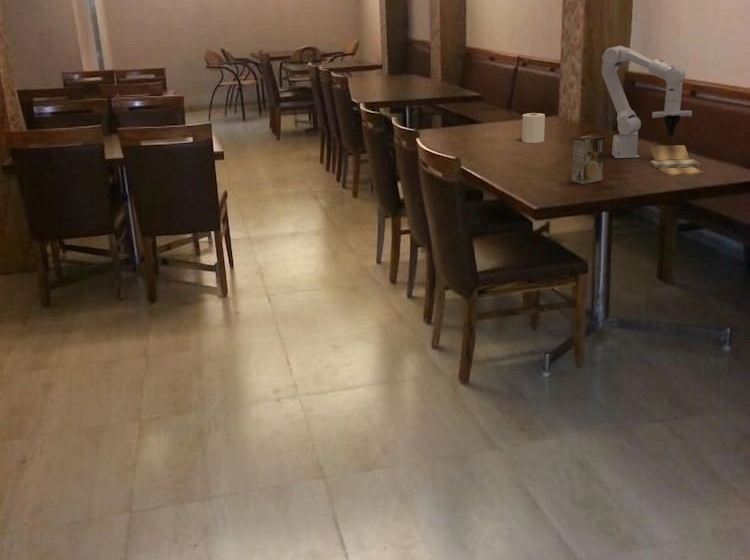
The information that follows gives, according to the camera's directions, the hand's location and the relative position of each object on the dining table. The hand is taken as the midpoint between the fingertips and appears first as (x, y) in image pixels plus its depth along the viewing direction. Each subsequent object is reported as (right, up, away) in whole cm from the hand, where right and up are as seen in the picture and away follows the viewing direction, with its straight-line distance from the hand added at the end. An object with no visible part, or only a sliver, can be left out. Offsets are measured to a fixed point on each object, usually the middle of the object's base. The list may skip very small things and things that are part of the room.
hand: (670, 135), depth 300 cm
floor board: (-1, -13, -6) cm, 14 cm away
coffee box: (-39, -21, -22) cm, 49 cm away
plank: (-2, -17, -16) cm, 24 cm away
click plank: (0, -8, +1) cm, 8 cm away
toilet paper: (-43, +7, +53) cm, 69 cm away
